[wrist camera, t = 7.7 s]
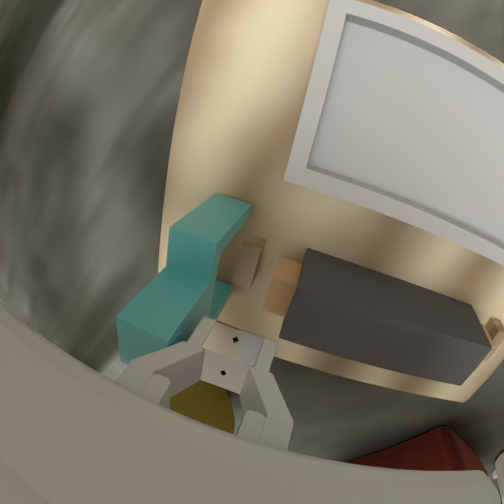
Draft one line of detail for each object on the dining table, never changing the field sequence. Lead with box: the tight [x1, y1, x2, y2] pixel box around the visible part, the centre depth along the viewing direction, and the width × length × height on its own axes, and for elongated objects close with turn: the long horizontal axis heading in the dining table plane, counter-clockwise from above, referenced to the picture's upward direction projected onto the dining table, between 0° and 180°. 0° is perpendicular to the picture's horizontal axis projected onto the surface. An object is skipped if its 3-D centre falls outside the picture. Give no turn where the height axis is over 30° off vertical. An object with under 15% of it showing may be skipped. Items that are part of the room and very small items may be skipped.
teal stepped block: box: [116, 193, 252, 365], centre depth 13 cm, size 2×6×8 cm, turn 168°
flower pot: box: [170, 380, 235, 434], centre depth 22 cm, size 9×9×9 cm
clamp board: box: [158, 0, 504, 403], centre depth 14 cm, size 26×22×3 cm
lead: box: [262, 248, 495, 386], centre depth 14 cm, size 13×3×4 cm, turn 77°
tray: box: [283, 0, 504, 266], centre depth 11 cm, size 17×9×2 cm, turn 78°
